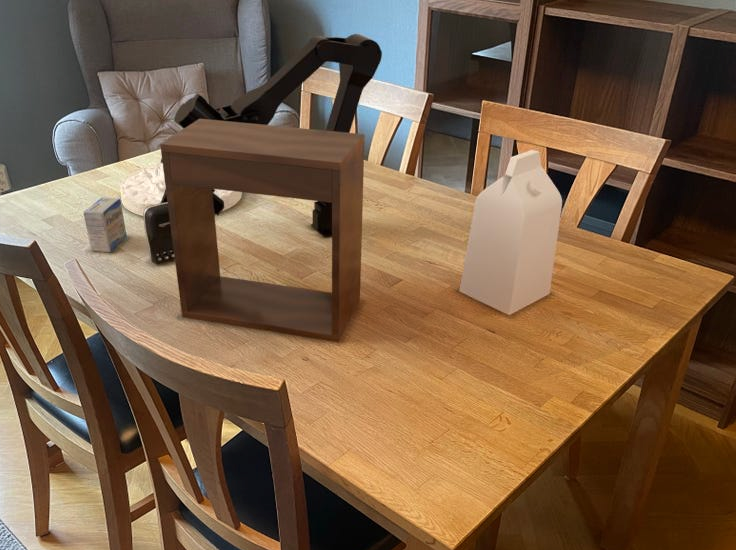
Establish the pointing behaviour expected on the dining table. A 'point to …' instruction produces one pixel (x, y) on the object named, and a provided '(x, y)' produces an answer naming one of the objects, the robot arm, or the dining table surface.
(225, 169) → the brown wooden cubby shelf
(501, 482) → the dining table surface
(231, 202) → the cake
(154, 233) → the black rounded piece
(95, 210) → the medicine box
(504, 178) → the milk
